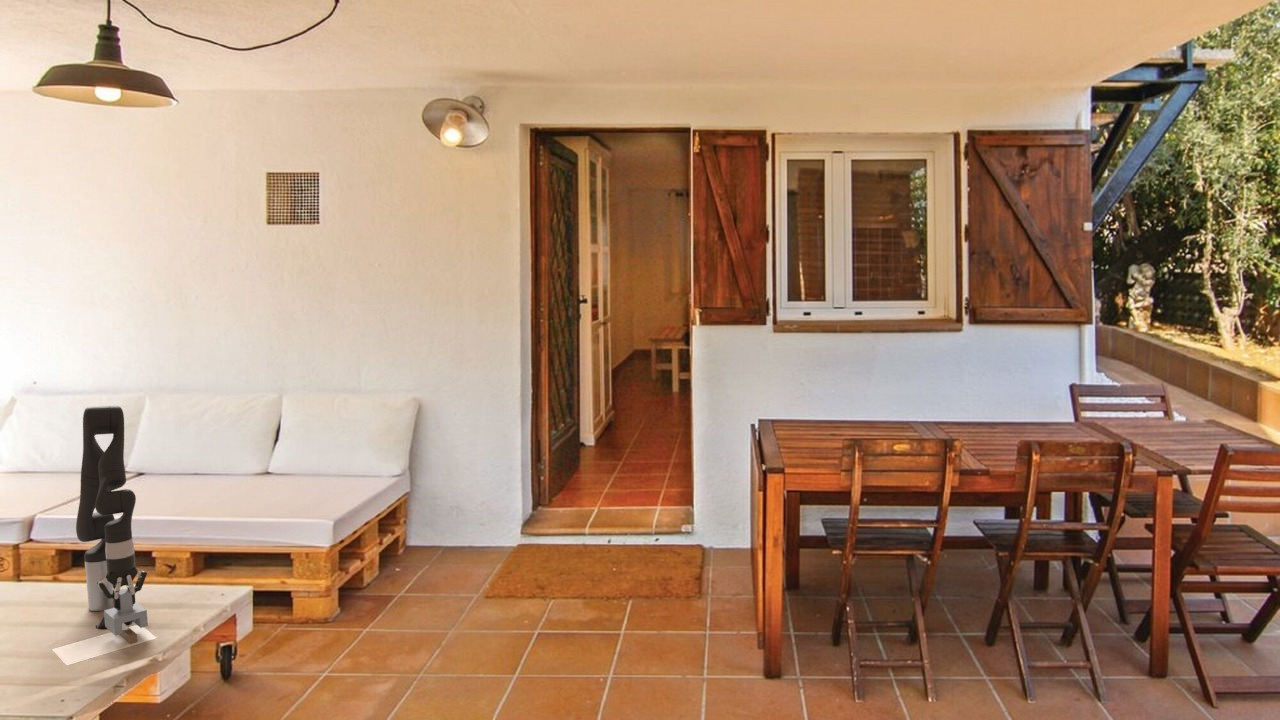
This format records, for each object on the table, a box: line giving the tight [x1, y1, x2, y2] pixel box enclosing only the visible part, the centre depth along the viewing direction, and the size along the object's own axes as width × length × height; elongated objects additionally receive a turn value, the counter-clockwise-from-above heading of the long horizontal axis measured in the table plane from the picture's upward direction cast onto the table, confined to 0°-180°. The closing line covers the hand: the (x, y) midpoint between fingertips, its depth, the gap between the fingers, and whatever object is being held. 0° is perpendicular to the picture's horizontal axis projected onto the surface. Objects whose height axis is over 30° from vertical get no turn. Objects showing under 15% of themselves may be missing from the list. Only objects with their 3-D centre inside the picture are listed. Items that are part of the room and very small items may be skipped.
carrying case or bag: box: [95, 616, 134, 631], centre depth 275 cm, size 11×3×15 cm
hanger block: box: [103, 587, 149, 635], centre depth 261 cm, size 10×9×11 cm
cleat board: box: [51, 623, 157, 666], centre depth 257 cm, size 16×24×4 cm, turn 138°
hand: (124, 607), depth 261 cm, fingers closed on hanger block, 3 cm apart
